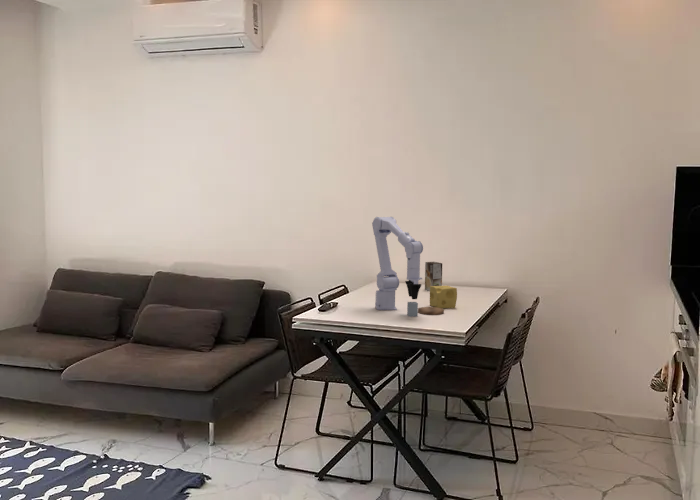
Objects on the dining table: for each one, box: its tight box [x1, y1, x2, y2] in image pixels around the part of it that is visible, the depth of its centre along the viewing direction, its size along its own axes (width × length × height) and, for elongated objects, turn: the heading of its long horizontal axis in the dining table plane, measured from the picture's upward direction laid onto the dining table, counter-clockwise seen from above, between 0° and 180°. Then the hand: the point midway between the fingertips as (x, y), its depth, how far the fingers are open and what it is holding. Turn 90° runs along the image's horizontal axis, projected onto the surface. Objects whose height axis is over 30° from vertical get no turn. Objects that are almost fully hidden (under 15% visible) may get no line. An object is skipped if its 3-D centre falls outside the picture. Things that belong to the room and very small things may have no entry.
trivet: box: [418, 306, 445, 316], centre depth 314 cm, size 12×12×2 cm
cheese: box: [429, 285, 458, 309], centre depth 329 cm, size 10×11×10 cm
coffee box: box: [424, 261, 443, 292], centre depth 379 cm, size 9×6×16 cm
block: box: [406, 301, 419, 317], centre depth 306 cm, size 4×4×6 cm
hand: (412, 297), depth 305 cm, fingers open, 7 cm apart
